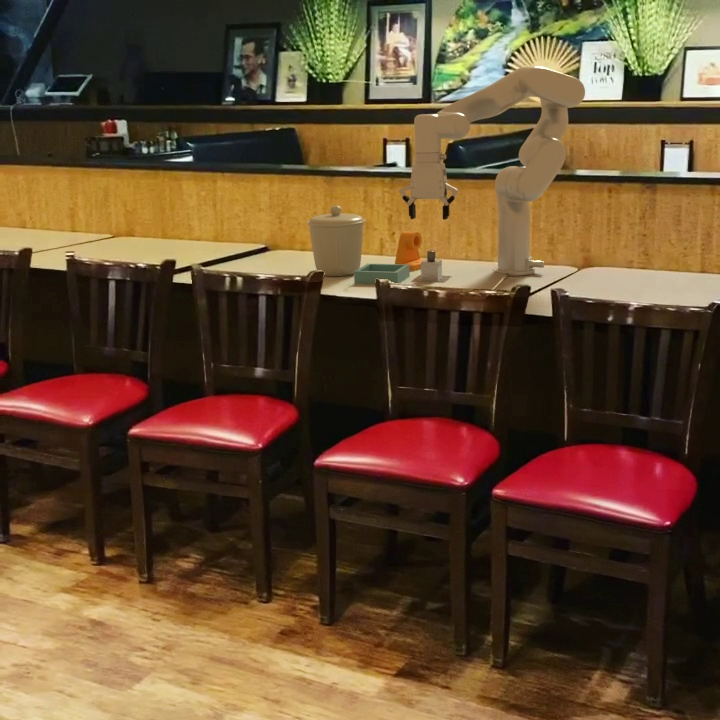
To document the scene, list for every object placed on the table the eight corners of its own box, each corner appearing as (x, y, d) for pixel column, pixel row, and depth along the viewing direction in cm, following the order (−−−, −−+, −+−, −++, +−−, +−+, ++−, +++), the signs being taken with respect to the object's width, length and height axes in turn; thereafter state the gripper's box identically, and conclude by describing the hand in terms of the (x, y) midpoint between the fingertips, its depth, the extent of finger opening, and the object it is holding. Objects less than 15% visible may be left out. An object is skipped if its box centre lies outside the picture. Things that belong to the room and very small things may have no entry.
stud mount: (452, 279, 310) (452, 262, 309) (444, 285, 301) (444, 268, 300) (419, 278, 313) (419, 261, 312) (410, 284, 304) (410, 267, 303)
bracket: (414, 274, 321) (413, 235, 317) (394, 272, 325) (393, 233, 322) (433, 268, 329) (433, 230, 326) (414, 266, 333) (414, 229, 330)
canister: (379, 273, 324) (377, 204, 318) (332, 281, 313) (330, 211, 307) (343, 266, 337) (340, 200, 332) (297, 274, 327) (294, 206, 321)
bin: (409, 279, 312) (409, 264, 311) (397, 288, 300) (397, 272, 299) (367, 278, 316) (367, 263, 315) (354, 286, 304) (354, 271, 303)
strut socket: (442, 277, 309) (441, 250, 306) (438, 280, 304) (437, 252, 302) (425, 276, 310) (425, 249, 308) (421, 280, 306) (420, 252, 303)
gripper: (461, 157, 299) (461, 217, 304) (402, 157, 305) (404, 216, 309) (454, 159, 292) (455, 221, 297) (395, 160, 298) (396, 220, 302)
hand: (429, 218), depth 303 cm, fingers open, 9 cm apart
